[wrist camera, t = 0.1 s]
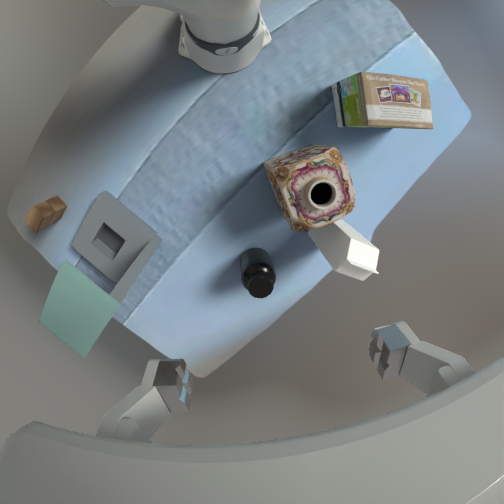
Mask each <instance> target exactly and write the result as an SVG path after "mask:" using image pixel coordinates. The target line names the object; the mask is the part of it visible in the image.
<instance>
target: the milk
mask: <svg viewBox="0 0 504 504" xmlns="http://www.w3.org/2000/svg"><path fill="white" fill-rule="evenodd" d="M307 234H308V235H309V236H310V238H311V239H312V240H313V242H314V243H315V244H316V246H317V247H318V248H319V250H320V251H321V253H322V254H323V255H324V257H325V258H326V259H327V261H328V262H329V264H330V265H331V266H332V268H333V269H334V271H336V272H339V273H342V274H345V275H348V276H351V277H354V278H356V279H359V280H365V279H366V278H367V277H368V276H370V275H371V274H372V273H373V272H374V273H377V274H379V273H378V272H377V271H376V266H377V260H378V254H379V249H377V248H376V247H375V246H374V245H373V244H371V243H370V242H369V241H368V240H367V239H365V238H364V237H363V236H362V235H361V234H359V233H358V232H357V231H356V230H354V229H353V228H352V227H351V226H350V225H348V224H347V223H346V222H344V221H343V220H342V219H340V220H338V221H335V222H334V223H332V224H330V225H327V226H324V227H320V228H316V229H309V231H308V233H307Z"/></svg>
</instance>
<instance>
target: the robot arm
mask: <svg viewBox="0 0 504 504" xmlns="http://www.w3.org/2000/svg"><path fill="white" fill-rule="evenodd" d="M100 1H102V2H103V3H105V4H108V5H110V6H114V7H117V6H127V5H146V6H154V7H159V8H163V9H167V10H170V11H173V12H176V13H178V14H180V20H181V21H182V26H181V34H180V41H179V49H178V51H179V54H180V55H181V56H183V57H186V58H189V59H192V60H193V61H194V62H195V63H196V64H197V65H199V66H200V67H201V68H203V69H205V70H207V71H210V72H213V73H221V74H224V73H232V72H236V71H239V70H242V69H244V68H245V67H247V66H248V65H250V64H251V63H252V62H253V61H254V60H255V58H256V57H257V55H258V54H259V52H260V51H261V49H263V48H264V47H266V46H267V45H269V44H270V43H271V36H270V33H269V31H268V29H267V27H266V24H265V22H264V20H263V18H262V16H261V14H260V11H259V7H260V1H261V0H100ZM183 45H184V47H183ZM371 337H372V338H373V341H372V342H371V343H370V347H369V352H370V357H371V360H372V362H373V363H374V364H376V365H378V368H377V371H378V373H379V375H380V376H381V378H382V380H385V379H388V378H392V377H395V376H398V375H399V376H400V377H401V378H403V379H404V380H406V381H407V382H409V383H410V384H412V385H414V386H415V387H417V388H418V389H420V390H421V391H423V392H424V393H426V394H427V396H426V398H424V399H422V400H419V401H417V402H414V403H412V404H409V405H407V406H404V407H402V408H399V409H396V410H394V411H391V412H388V413H385V414H382V415H379V416H376V417H373V418H370V419H366V420H363V421H360V422H357V423H353V424H349V425H345V426H341V427H338V428H334V429H329V430H325V431H320V432H316V433H311V434H306V435H301V436H295V437H289V438H282V439H275V440H268V441H259V442H250V443H237V444H219V445H173V444H155V443H152V442H151V441H150V440H149V439H150V438H151V437H152V435H153V434H154V433H155V432H156V431H157V429H158V428H159V427H160V426H161V425H162V423H163V422H164V421H165V420H166V418H167V417H168V416H169V415H170V412H189V408H190V401H191V400H190V397H189V394H190V393H191V392H192V379H191V375H190V373H189V371H187V370H186V363H185V361H184V359H161V360H150V361H149V362H148V365H147V368H146V371H145V374H144V377H143V380H142V383H141V386H137V387H136V388H135V389H134V390H133V391H132V392H130V393H129V394H128V395H127V396H126V397H124V398H123V399H122V400H121V401H120V402H119V403H117V404H116V405H115V406H114V407H112V408H111V409H110V410H109V411H108V412H107V413H105V414H104V415H103V417H102V420H101V423H100V425H99V428H98V431H97V434H96V436H93V435H88V434H83V433H78V432H74V431H70V430H66V429H62V428H58V427H54V426H51V425H47V424H44V423H41V422H37V421H32V422H30V423H28V424H26V425H25V426H23V427H21V428H20V429H18V430H17V431H15V432H14V433H12V434H11V435H10V436H9V437H8V438H7V439H6V441H5V443H4V444H3V446H2V448H1V449H0V504H504V356H502V357H501V358H499V359H498V360H496V361H495V362H493V363H491V364H490V365H488V366H487V367H485V368H483V369H482V370H480V371H478V372H476V373H475V371H474V370H473V369H472V368H471V366H470V365H469V364H468V363H467V361H466V360H465V359H464V358H463V357H462V356H459V355H457V354H454V353H452V352H449V351H447V350H444V349H442V348H439V347H437V346H434V345H432V344H430V343H427V342H425V341H422V342H420V341H419V339H418V338H417V337H416V335H415V334H414V333H413V331H412V330H411V329H410V328H409V327H408V325H407V324H406V323H405V322H404V321H400V322H397V323H393V324H390V325H386V326H383V327H379V328H376V329H373V331H372V334H371Z"/></svg>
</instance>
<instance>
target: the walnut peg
mask: <svg viewBox="0 0 504 504" xmlns="http://www.w3.org/2000/svg"><path fill="white" fill-rule="evenodd" d="M66 207H67V205H66V204H65V203H64V202H63V201H62V200H61V199H60V198H59V197H58V196H56V197H53V198H51V199H48V200H46V201H44V202H41V203H39V204H37V205H35V206H32V207H30V210H29V212H28V215H27V218H26V220H25V222H26V224H27V225H28V226H29V227H30V228H31V229H32V230H33V231H34V232H35V233H37V232H38V231H40V230H42V229H43V228H45V227H47V226H48V225H50V224H52V223H54V222H55V221H57V220H59V219H61V218H62V216H63V213H64V211H65V209H66Z"/></svg>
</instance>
